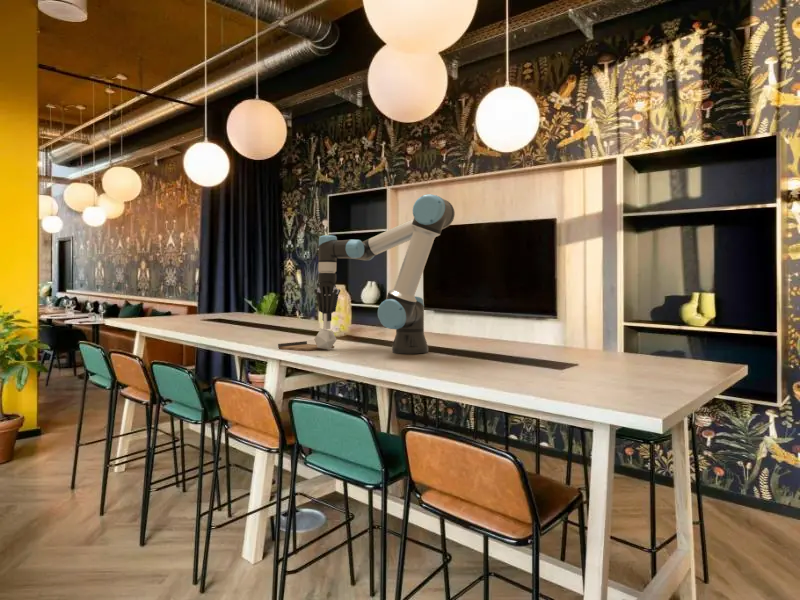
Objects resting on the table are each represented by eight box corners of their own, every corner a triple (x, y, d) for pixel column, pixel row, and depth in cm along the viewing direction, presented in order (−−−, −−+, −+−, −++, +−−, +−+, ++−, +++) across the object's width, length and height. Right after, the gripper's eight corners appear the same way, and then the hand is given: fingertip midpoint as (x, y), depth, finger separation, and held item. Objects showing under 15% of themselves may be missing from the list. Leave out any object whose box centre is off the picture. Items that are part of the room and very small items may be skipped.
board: (334, 348, 236) (334, 343, 236) (307, 351, 223) (307, 345, 223) (305, 346, 246) (305, 341, 246) (278, 348, 234) (278, 343, 234)
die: (335, 344, 222) (326, 323, 224) (316, 354, 223) (307, 332, 225) (342, 346, 230) (333, 325, 232) (324, 355, 231) (315, 334, 233)
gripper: (345, 272, 226) (344, 329, 226) (322, 273, 233) (322, 328, 234) (332, 272, 220) (332, 330, 220) (309, 272, 227) (309, 328, 228)
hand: (326, 329), depth 227 cm, fingers closed
